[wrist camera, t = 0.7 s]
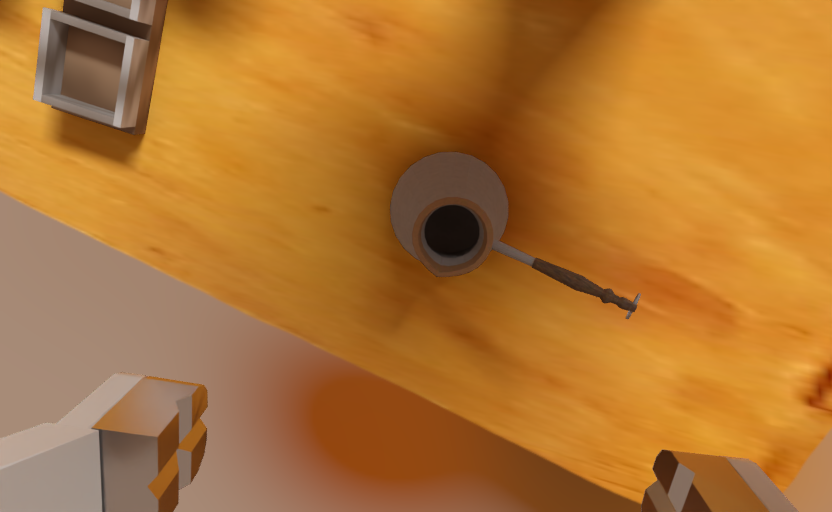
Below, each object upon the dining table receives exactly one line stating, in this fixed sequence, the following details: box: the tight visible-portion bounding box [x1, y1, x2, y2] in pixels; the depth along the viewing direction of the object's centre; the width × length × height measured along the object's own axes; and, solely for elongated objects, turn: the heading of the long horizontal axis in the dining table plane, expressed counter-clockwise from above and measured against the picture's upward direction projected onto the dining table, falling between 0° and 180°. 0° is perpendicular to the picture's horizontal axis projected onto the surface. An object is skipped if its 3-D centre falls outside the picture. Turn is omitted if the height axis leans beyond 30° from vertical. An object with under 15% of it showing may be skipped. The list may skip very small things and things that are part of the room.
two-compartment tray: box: [33, 0, 168, 135], centre depth 47 cm, size 19×8×4 cm, turn 162°
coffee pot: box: [390, 152, 641, 319], centre depth 47 cm, size 21×12×15 cm, turn 70°
